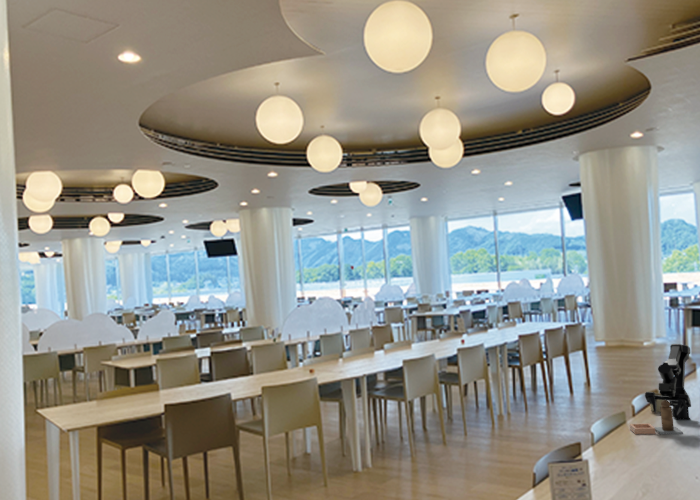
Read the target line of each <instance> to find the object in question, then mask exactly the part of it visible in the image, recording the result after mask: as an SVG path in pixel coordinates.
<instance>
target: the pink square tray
mask: <svg viewBox="0 0 700 500" xmlns="http://www.w3.org/2000/svg"><path fill="white" fill-rule="evenodd" d="M654 427H655V426H653V425H652V424H651V423H629V430H631V431H632V432H633V433H634V434H635V435H644V434H645V435H646V434H649V435H651V434H654V435H655V434H657V433H656V431H655V428H654Z"/></svg>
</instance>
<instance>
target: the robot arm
mask: <svg viewBox="0 0 700 500" xmlns="http://www.w3.org/2000/svg"><path fill="white" fill-rule="evenodd" d="M669 347H670V352H669V355H668V358H667V360H665V361H663V362H662V364H660V365H658V367H657V371H658V372H659V375H660V378H661V380H662V383H661V382H659V383H658V391H659V393H660V394H661V395H655V393H656V392H655V391H646V392H645V393H644V397H645V399H646V402H647V403H649V405H650V404H652V405H653V409H654V411H653V412H654V414H657V412H656V409H657V403H656V402H657V400H667V401H669V402H670V407H672V416H673V419H675V420H678V419H681V420H691V417H690V410H689V408H691V407H692V404H691V398H690V395H689V393H687V391H686V389H685V376H686V373H685V372H686V362H687V361H688V360H689V358H690V355H691V348H690V346H688V345H687V344H681V343H672V344H670V346H669Z"/></svg>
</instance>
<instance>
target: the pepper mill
mask: <svg viewBox="0 0 700 500" xmlns="http://www.w3.org/2000/svg"><path fill="white" fill-rule="evenodd" d="M661 405H662V406H661V407H660V410H661V412H660V417H661V418H660V419H661V427H662V430H665V431H673V430H674V427H675V426H674V417H673V414H672V408H673V406H670V402H669V401H668V400H663V401H662V402H661Z"/></svg>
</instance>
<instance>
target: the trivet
mask: <svg viewBox="0 0 700 500" xmlns="http://www.w3.org/2000/svg"><path fill="white" fill-rule="evenodd" d="M653 427H654V428H655V432H657V433H658V434H659V435H684V432H683V431H682V430H681V429H679V428H678V427H677V426H673V427H674V430H673V431H665V430H662V426H653Z"/></svg>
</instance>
